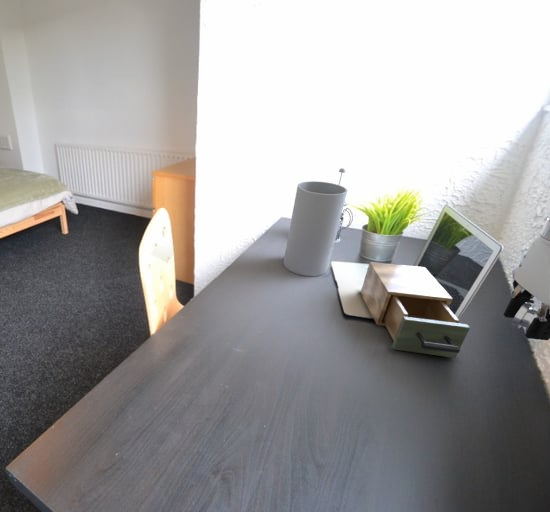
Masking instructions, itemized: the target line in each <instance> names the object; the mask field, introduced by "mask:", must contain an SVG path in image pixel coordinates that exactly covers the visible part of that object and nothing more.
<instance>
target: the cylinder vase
mask: <svg viewBox="0 0 550 512" xmlns="http://www.w3.org/2000/svg"><path fill="white" fill-rule="evenodd" d="M347 194H348V189H347V188H346V187H345V186H343V185H340V184H337V183H332V182H326V181H317V180H315V181H313V180H311V181H302V182H300V183H298V184H297V188H296V192H295V197H294V203H293V208H292V214H291V219H290V224H289V230H288V235H287V240H286V246H285V251H284V257H283V266H284V267H285V268H286V270H288V271H290V272H291V273H294V274H296V275H298V276H302V277H303V276H304V277H320V276H323V275H324V274H326V273H327V272H328V270H329V265H330V261H331V257H332V253H333V249H334V245H335V243H334V242H335V238H336V234H337V230H338V226H339V222H340V221H341V219H340V218H341V214H342V213H343V210H344V207H345V206H344V202H345V200H346V197H347Z"/></svg>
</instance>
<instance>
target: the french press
mask: <svg viewBox="0 0 550 512" xmlns="http://www.w3.org/2000/svg"><path fill="white" fill-rule="evenodd" d="M338 172H339V173H340V177H339V182H338V185H340V184H341V181H342V176H343V174H345V173H346V169H345V168H343V167H342V168H340V169H338ZM348 204H349V201H347V200H346V199H345V202H344V206H343V207H346V206H347V205H348ZM346 212H347V213H348V216H349V222H348V224H347V225H346V226H344V227H343V223H344V220H345V218H344V217H343V216H344V213H346ZM353 221H354V215H353V212H352V211H351V209H350V208H349V207H346V208H343V210H342V214H341V218H340V222H339V226H338V230H337V234H336V238H335V242H334V244H336V243H340V242H341V233H342V230H345V229H347V228H349V227H350V226H351V225H352V223H353Z"/></svg>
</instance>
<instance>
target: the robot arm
mask: <svg viewBox="0 0 550 512" xmlns="http://www.w3.org/2000/svg"><path fill="white" fill-rule="evenodd" d="M511 275H512V287H513V290H512V291H511V292H510V296H511V298H510V301H509V302H508V305H506V308H505V310H504V311H503V312H504V313H503V316H504V317H505V318H507V319H514V317H515V315H516V314H517V312H518V311H519V309H520V308H521V307H522V306H523V305H524V304H525V303H526V302H530V303H533V304H535V300H533V299H534V298H536V300H538V301H539V302H540V303H541V306H540V308H541V309H540V308H539V309H540V314H539V318H534V319H533V321H532V323H531V324H530V326H529V328H528V330H527V332H526V331H525V333H524V336H525V338H527V339H531V340H539V341H540V340H541V341H549V340H550V213H549V215H548V217H547V218H546V220H545V222H544V224H543V226H542V228H541V230H540V232H539V234H538V235H537V236H536V237H535V239H534V240H533V241H532V243H531V244H530V246H529V247H528V249H527V250H526V252H525V253H524V255H523V257H522V259H521V260H520V262H519V264H518V266H517V268H514V269H512V271H511Z"/></svg>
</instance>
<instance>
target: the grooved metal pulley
mask: <svg viewBox="0 0 550 512" xmlns="http://www.w3.org/2000/svg"><path fill="white" fill-rule="evenodd" d="M535 306H536V304H535V303H534V304H533V303H530V302H526V303H525V304H524V305H523V306H522V307H521V308H520V309H519V311H518V312H517V314H516V315H515V317H514V318H512V321H511V325H510V326H511V327H513V328H515V329H517V330H518V329H519V330H520V329H521V328H522V327H524V328H525V333H526V332H527V330H528V328H529V326H530V324H531V323H532V321H533V319H534V318H539V314H540V309H541V307H540V308H539V309H537V308H535Z"/></svg>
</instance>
